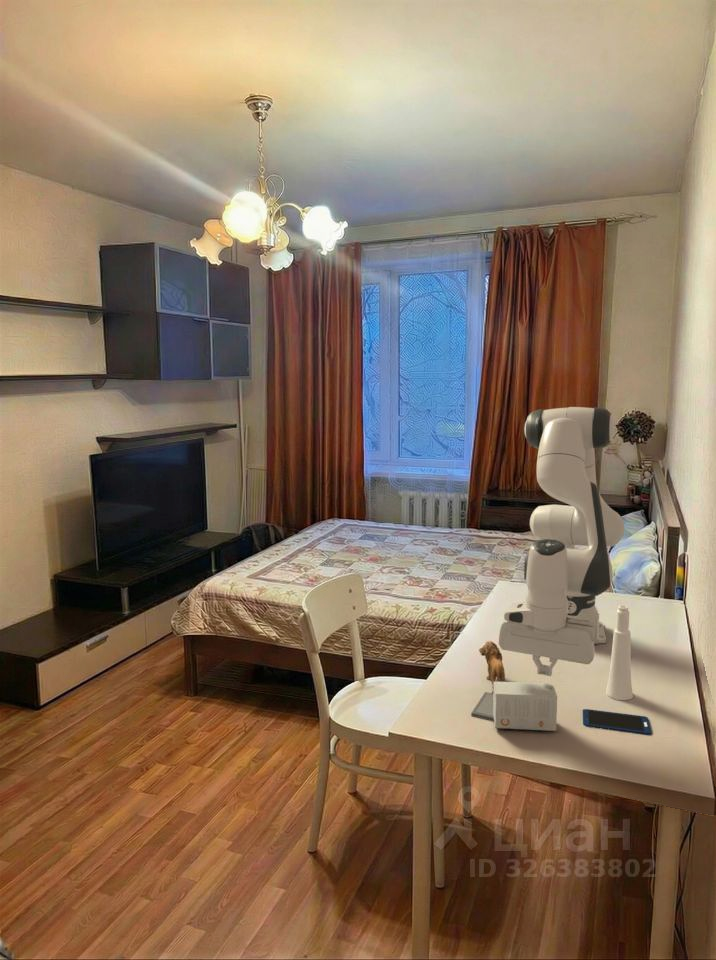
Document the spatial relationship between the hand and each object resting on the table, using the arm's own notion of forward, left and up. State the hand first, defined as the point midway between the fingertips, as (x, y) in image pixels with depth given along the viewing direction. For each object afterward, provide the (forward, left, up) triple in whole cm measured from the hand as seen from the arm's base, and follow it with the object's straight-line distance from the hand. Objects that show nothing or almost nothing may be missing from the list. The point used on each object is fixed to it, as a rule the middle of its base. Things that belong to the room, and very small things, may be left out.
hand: (544, 674), depth 145 cm
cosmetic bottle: (-19, +14, -11) cm, 26 cm away
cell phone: (-5, +15, -11) cm, 19 cm away
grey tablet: (0, -7, -11) cm, 13 cm away
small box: (+2, +3, -6) cm, 7 cm away
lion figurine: (-12, -15, -11) cm, 22 cm away
